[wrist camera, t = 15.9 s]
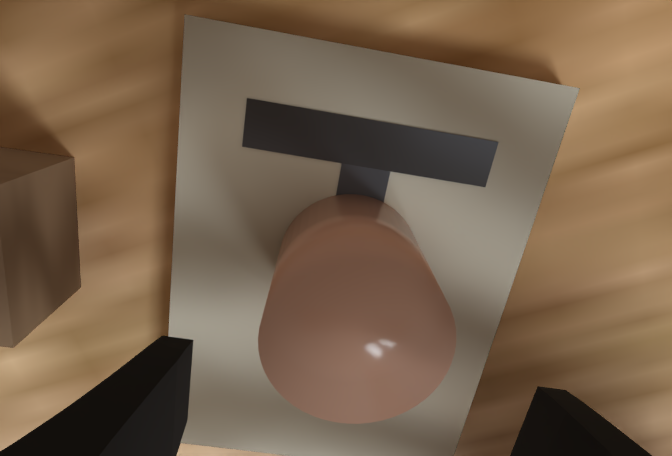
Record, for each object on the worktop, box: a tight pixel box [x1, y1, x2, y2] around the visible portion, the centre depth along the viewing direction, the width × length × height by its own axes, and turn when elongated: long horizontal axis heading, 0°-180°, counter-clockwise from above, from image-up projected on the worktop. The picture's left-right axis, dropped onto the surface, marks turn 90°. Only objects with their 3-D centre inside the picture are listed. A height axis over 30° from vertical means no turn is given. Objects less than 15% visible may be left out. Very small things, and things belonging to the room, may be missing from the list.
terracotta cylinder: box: [258, 194, 456, 424], centre depth 13 cm, size 5×5×5 cm
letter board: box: [168, 14, 580, 456], centre depth 16 cm, size 16×12×1 cm
